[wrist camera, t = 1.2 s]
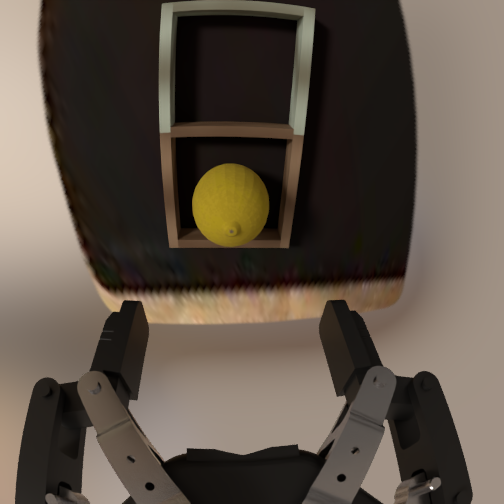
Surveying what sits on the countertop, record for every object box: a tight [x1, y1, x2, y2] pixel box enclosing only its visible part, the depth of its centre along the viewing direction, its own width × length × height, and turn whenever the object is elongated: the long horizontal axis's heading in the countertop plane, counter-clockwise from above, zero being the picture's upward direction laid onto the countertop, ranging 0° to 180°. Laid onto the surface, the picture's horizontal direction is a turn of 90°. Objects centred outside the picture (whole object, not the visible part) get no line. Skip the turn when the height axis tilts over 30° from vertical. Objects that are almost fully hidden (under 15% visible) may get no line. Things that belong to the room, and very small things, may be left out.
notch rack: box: [159, 0, 315, 248], centre depth 20 cm, size 20×11×2 cm, turn 177°
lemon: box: [192, 164, 269, 247], centre depth 21 cm, size 6×6×8 cm
